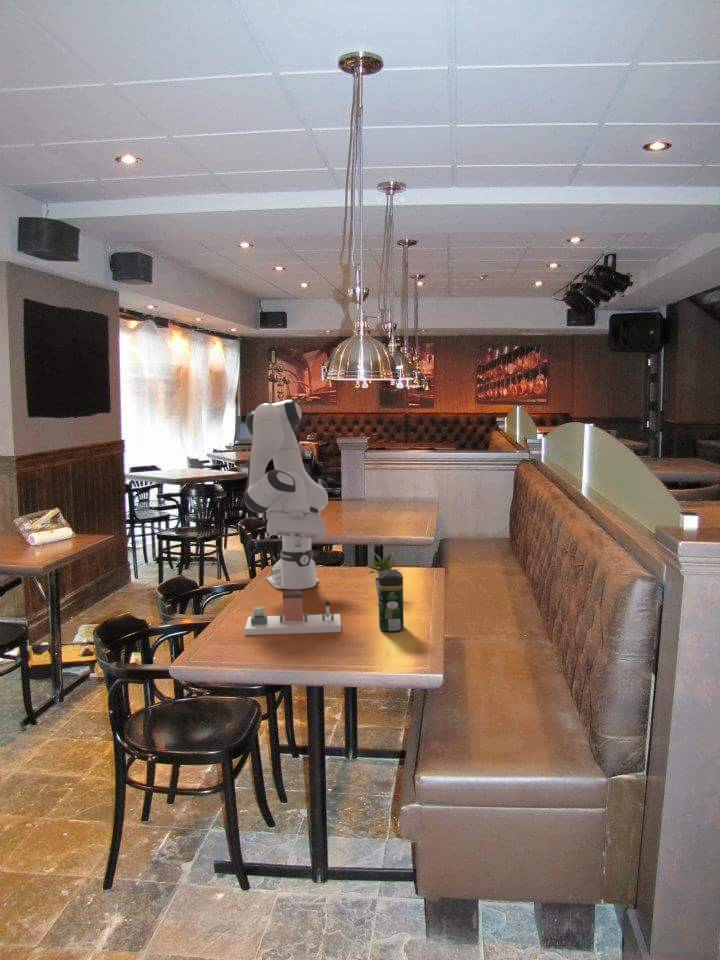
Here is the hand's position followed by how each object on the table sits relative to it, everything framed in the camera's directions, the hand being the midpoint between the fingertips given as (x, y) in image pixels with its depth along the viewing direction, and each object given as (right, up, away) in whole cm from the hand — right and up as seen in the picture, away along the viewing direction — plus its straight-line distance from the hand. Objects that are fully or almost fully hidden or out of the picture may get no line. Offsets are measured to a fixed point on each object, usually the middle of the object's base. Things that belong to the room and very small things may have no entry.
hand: (297, 546), depth 244 cm
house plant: (+30, -20, +26) cm, 44 cm away
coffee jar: (+31, -25, -12) cm, 41 cm away
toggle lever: (+10, -22, -9) cm, 26 cm away
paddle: (-1, -23, -10) cm, 25 cm away
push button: (-12, -21, -11) cm, 27 cm away
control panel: (0, -25, -10) cm, 27 cm away
